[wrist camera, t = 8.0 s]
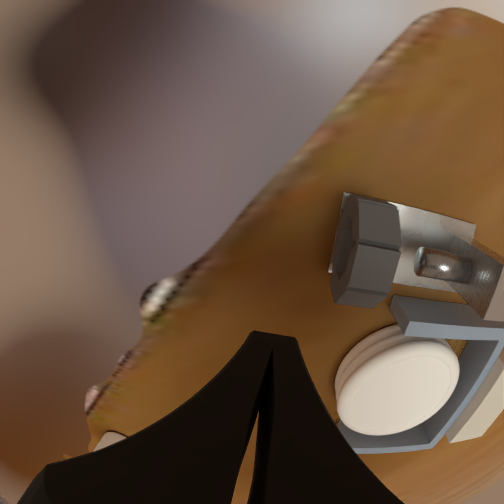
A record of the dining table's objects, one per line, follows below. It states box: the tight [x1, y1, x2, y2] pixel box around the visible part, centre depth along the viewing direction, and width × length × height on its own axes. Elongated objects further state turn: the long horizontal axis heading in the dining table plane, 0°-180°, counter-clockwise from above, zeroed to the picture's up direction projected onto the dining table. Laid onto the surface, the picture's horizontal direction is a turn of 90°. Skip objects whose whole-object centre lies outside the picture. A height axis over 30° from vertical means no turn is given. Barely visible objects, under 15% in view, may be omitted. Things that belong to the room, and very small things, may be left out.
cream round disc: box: [335, 324, 460, 435], centre depth 18 cm, size 10×10×4 cm
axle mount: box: [328, 192, 504, 321], centre depth 13 cm, size 5×10×6 cm, turn 83°
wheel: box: [331, 194, 402, 308], centre depth 14 cm, size 5×2×5 cm, turn 173°
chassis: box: [337, 295, 504, 454], centre depth 17 cm, size 14×14×5 cm
